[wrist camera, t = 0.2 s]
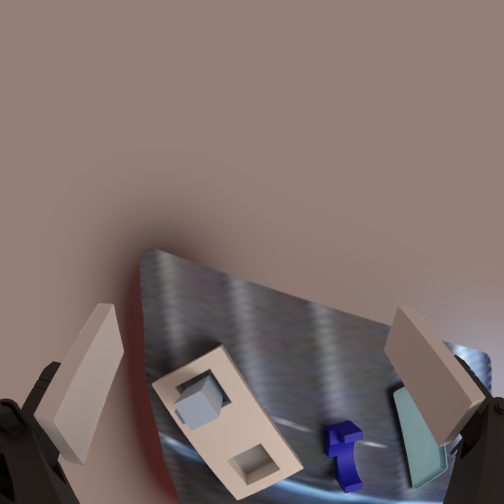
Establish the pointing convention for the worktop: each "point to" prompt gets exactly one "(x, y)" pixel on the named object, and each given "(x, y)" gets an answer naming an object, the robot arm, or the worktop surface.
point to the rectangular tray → (418, 442)
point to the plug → (199, 402)
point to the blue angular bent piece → (344, 453)
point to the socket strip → (232, 427)
